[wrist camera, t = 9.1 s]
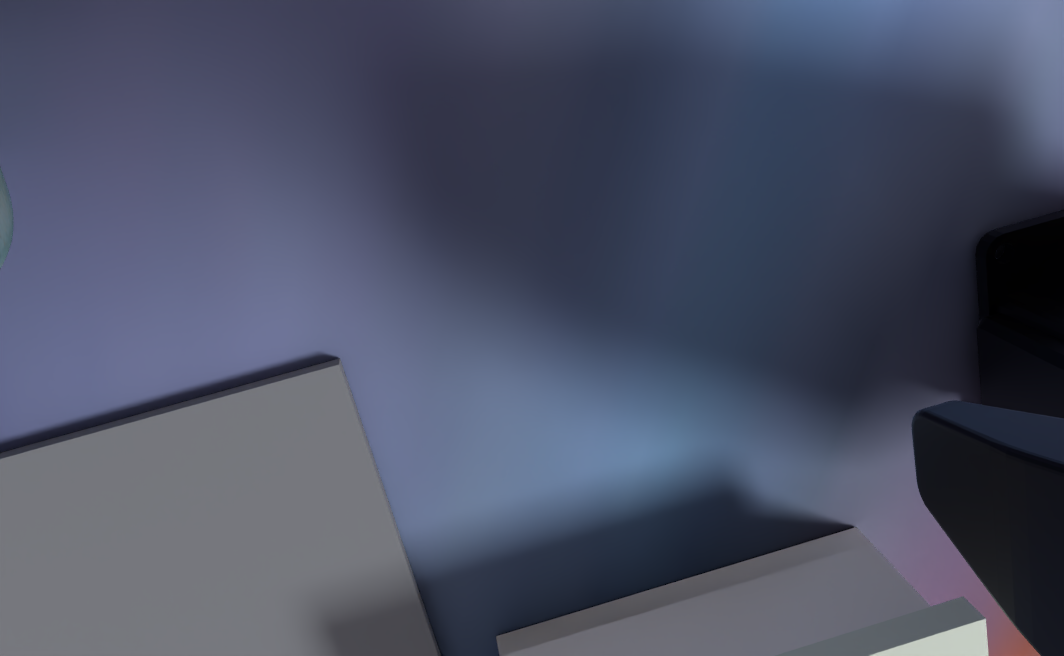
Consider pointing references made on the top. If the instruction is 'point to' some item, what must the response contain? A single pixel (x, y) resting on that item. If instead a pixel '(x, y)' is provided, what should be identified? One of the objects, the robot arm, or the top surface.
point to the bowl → (737, 607)
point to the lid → (912, 635)
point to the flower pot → (5, 220)
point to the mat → (209, 533)
